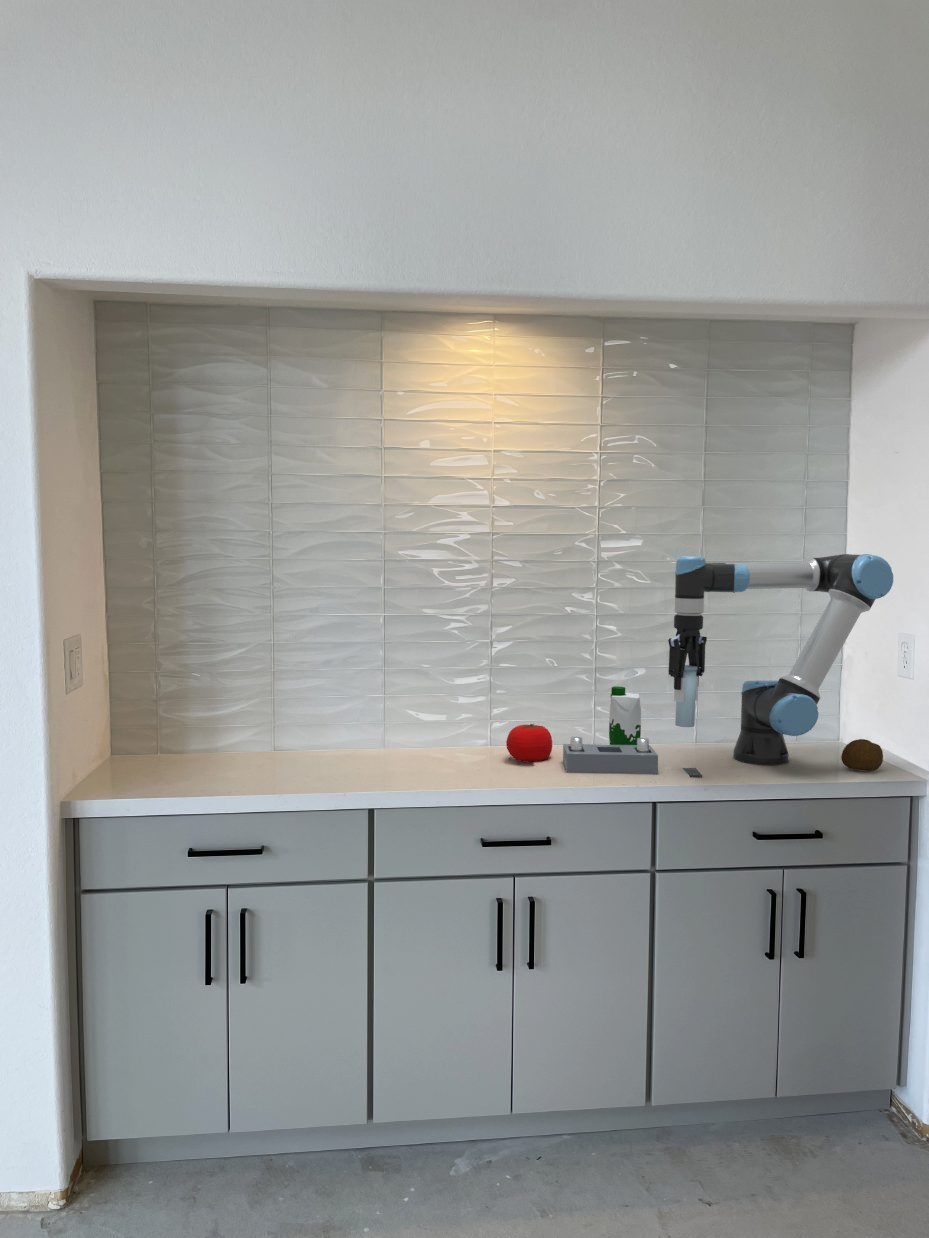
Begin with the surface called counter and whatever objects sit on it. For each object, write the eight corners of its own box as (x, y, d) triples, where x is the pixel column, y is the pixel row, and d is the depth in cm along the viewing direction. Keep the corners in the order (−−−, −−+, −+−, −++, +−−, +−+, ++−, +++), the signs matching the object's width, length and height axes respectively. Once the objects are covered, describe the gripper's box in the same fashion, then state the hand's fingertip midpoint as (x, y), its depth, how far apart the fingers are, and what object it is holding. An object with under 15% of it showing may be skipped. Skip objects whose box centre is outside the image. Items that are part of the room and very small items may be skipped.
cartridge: (699, 725, 241) (701, 666, 240) (686, 728, 238) (688, 668, 237) (683, 722, 245) (685, 664, 244) (670, 724, 242) (672, 665, 241)
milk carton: (609, 751, 268) (610, 684, 266) (640, 753, 266) (641, 686, 265) (607, 758, 260) (609, 689, 258) (639, 759, 258) (641, 690, 256)
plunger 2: (647, 762, 245) (648, 737, 245) (649, 765, 242) (650, 740, 242) (635, 762, 245) (636, 737, 245) (637, 765, 242) (638, 740, 242)
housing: (649, 766, 250) (650, 745, 249) (657, 777, 238) (658, 755, 237) (562, 765, 250) (563, 743, 250) (566, 776, 238) (567, 753, 238)
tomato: (544, 768, 247) (545, 731, 246) (500, 764, 251) (500, 727, 250) (557, 757, 260) (558, 721, 259) (515, 753, 265) (516, 718, 264)
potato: (892, 774, 245) (894, 742, 244) (849, 774, 244) (851, 742, 243) (877, 766, 253) (878, 736, 252) (835, 766, 252) (837, 736, 252)
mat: (695, 770, 247) (695, 767, 247) (702, 777, 239) (702, 775, 239) (666, 769, 247) (666, 767, 247) (672, 777, 239) (672, 774, 239)
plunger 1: (581, 761, 246) (581, 736, 245) (582, 764, 243) (583, 739, 242) (569, 760, 246) (570, 736, 245) (570, 763, 243) (571, 738, 242)
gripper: (698, 612, 248) (695, 695, 250) (655, 614, 237) (652, 701, 238) (721, 613, 242) (717, 699, 244) (678, 616, 231) (675, 706, 233)
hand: (685, 700), depth 241 cm, fingers closed on cartridge, 5 cm apart
